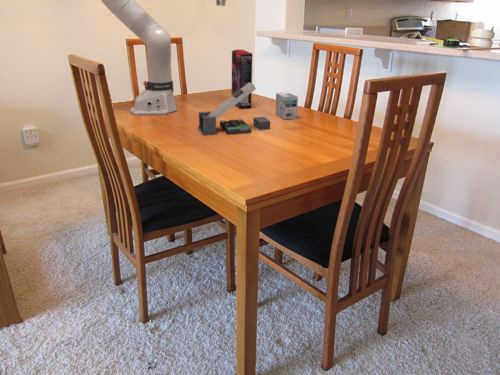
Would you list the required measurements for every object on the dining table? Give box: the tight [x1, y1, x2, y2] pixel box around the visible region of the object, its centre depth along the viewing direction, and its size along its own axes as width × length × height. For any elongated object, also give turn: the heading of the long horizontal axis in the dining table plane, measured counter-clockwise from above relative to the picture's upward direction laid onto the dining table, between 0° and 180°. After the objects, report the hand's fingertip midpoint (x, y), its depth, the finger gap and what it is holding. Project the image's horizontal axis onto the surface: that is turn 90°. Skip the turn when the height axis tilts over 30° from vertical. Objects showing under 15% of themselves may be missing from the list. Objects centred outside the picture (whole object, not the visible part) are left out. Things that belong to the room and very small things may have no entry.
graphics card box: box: [231, 49, 253, 109], centre depth 213 cm, size 17×7×27 cm, turn 17°
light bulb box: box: [275, 91, 299, 120], centre depth 196 cm, size 11×7×11 cm, turn 22°
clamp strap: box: [205, 82, 257, 121], centre depth 173 cm, size 25×6×3 cm
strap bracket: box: [197, 110, 271, 136], centre depth 177 cm, size 30×11×7 cm, turn 107°
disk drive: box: [219, 118, 252, 136], centre depth 178 cm, size 10×3×15 cm
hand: (220, 5), depth 196 cm, fingers open, 8 cm apart
